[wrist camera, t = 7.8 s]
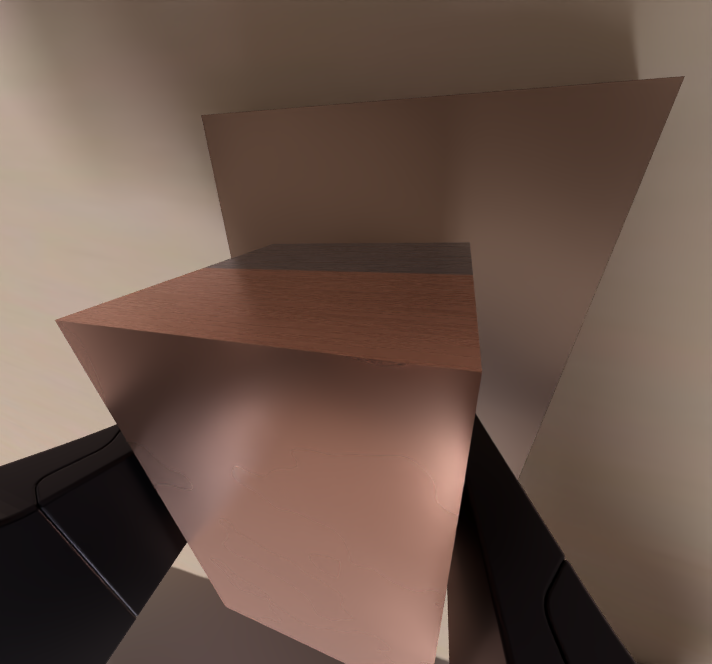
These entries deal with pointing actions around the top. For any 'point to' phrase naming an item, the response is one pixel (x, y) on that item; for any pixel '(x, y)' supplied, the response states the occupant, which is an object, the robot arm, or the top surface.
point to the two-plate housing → (306, 430)
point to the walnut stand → (461, 206)
